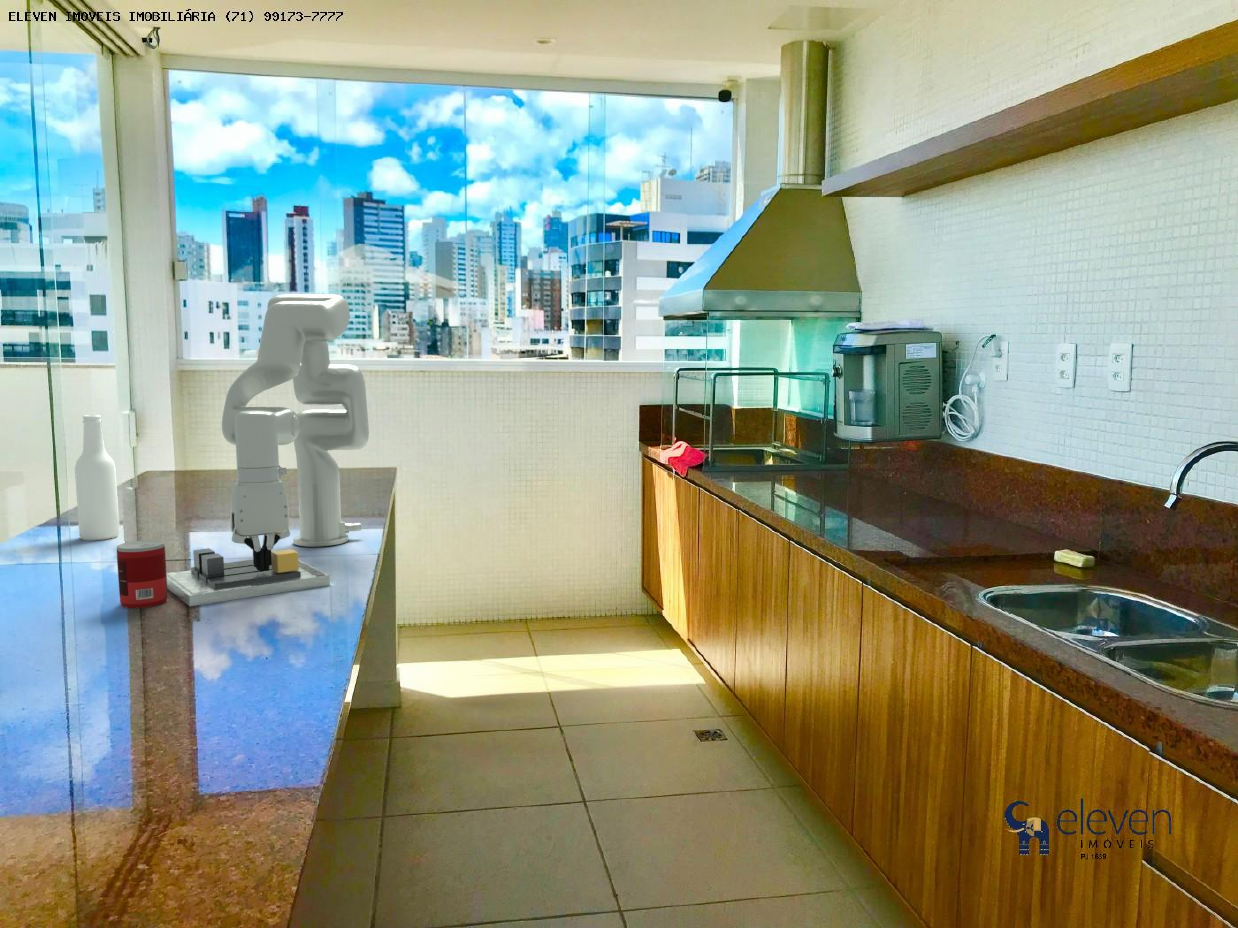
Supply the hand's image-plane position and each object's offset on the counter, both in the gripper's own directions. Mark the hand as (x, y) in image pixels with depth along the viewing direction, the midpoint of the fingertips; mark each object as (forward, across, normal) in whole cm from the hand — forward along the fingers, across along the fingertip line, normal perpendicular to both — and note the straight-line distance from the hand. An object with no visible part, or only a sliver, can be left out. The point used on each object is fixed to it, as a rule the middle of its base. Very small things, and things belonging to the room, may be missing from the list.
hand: (262, 569), depth 189 cm
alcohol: (+4, +16, -77) cm, 79 cm away
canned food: (+4, +21, -3) cm, 21 cm away
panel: (+4, +2, -6) cm, 7 cm away
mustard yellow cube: (0, -4, 0) cm, 4 cm away
